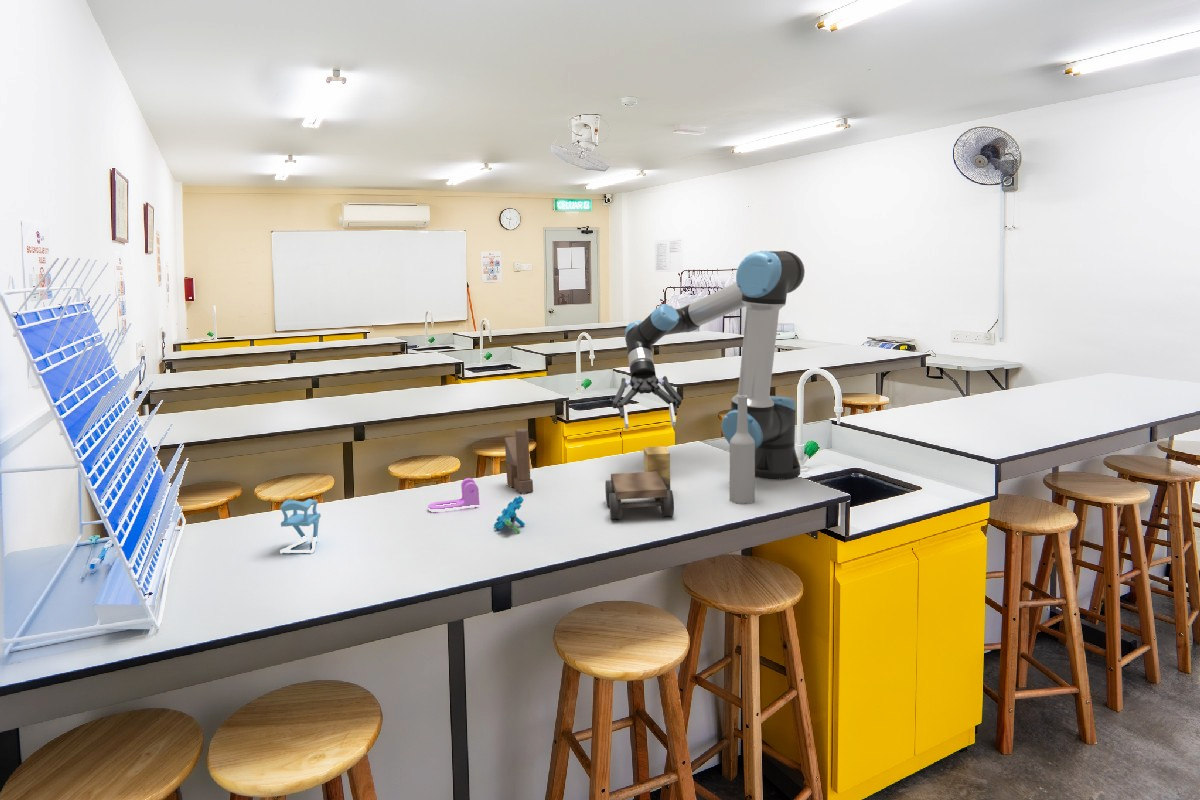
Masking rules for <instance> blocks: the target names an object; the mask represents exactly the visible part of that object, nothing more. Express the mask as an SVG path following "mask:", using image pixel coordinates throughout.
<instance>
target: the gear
mask: <svg viewBox="0 0 1200 800" xmlns="http://www.w3.org/2000/svg"><path fill="white" fill-rule="evenodd" d="M524 500H525V499H524V498H523V497H522V496H521V495H518V497H517V496H515V497H514V498H513V500H512V501H509V503H508V504H507V507H506V508H503V509H502V510H501V515H499V516H497V518H496V522H495V523H494V524H493V527H494V526H495V527H494V529H495V530H496V529H498V530H502V529H503V528H504V526H505V525H507V528H508V529H512V530H513V531H515V532H516V533H518V532H520V533H521V530H520V529H519V528H517V526H516V525H515V523H517V524H519V526H520V527H522V526H523V527H524V526H525V525H526V523H525V522H524V521H523V520H522V519H520V518H519V517H518V516H517V512H516V511H518V510H520V509H521V507H522V503H524Z"/></svg>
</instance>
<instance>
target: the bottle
mask: <svg viewBox="0 0 1200 800" xmlns="http://www.w3.org/2000/svg"><path fill="white" fill-rule="evenodd" d="M737 398H738V420H737V432H736V434H735V435H734V436H733V437H732V439H731V440H730V444H729V483H728V484H729V487H728V489H729V491H728V492H729V496H728V497H729V502H731V501H732V502H731V503H733V502H735V503H734V504H737V503H738V504H739V503H741V504H740V505H746V504H745V503H749V504H752V503H755V501H756V497H755V496H756V495H755V494H756V477H755V441H754V439H753V438H752V437H751V435H750V434H749V433H748V422H747V398H748V396H746V395H738V396H737ZM751 502H752V503H751Z"/></svg>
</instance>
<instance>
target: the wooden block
mask: <svg viewBox="0 0 1200 800" xmlns="http://www.w3.org/2000/svg"><path fill="white" fill-rule="evenodd" d="M514 432H515V433H514V434H515V436H510V437H505V438H504V449H505V450H504V451H505V461H506V463H505V467H506V482H507V483H506V485H507V484H508V485H509V487H510V486H511V487H510V488H512V487H514V490H515V489H516V491H517V492H518V491H519V493H520V492H521V493H520V494H522V493H524V494H528V493H527V492H529V493H532V492H534V484H533V479H531V464H530V463H531V462H530V442H529V440H530V439H529V429H528V428H524V427H523V428H517V429H515V431H514ZM508 485H507V486H508Z"/></svg>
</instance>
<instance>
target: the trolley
mask: <svg viewBox="0 0 1200 800" xmlns="http://www.w3.org/2000/svg"><path fill="white" fill-rule="evenodd" d="M604 484H605V487H604V489H605V501H606V505H607V506H609V514H610V515H609V516H610V520H619V519H621V518H622V513H623V512H622V509H626V508H628V509H630V508H631V509H632V508H645V507H646V508H647V507H660V512H661V516H662V517H672V516H674V513H675V501H674V494H673V491H672V490H671V489H670V490H667V488H666V483H665V479H664V478H660V476H659V474H658V472H657V471H655V472H644V471H640V472H639V471H638V472H621V473H610V480H605V483H604ZM634 499H635V500H637V499H638V500H639V499H654V501H636V502H635V501H633V502H622V500H634Z"/></svg>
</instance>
